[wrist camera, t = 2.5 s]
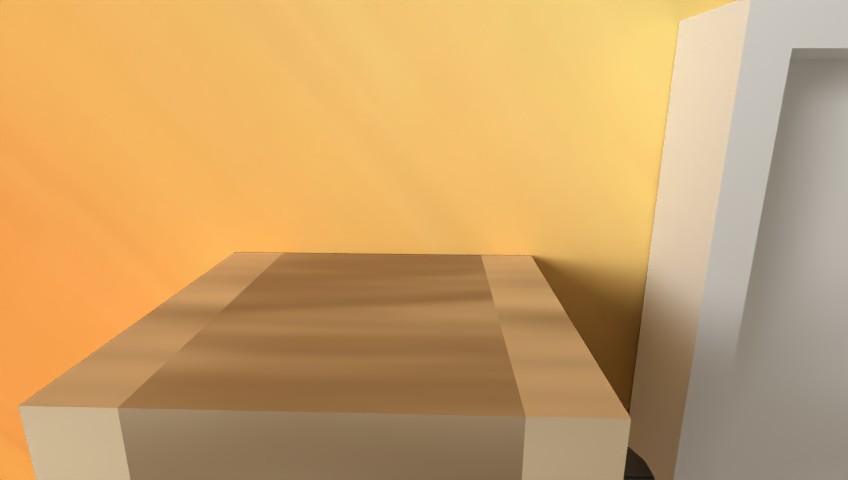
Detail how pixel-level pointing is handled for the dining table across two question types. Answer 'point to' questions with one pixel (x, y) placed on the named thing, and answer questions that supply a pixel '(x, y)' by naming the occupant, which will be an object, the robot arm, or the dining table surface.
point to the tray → (750, 252)
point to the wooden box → (339, 379)
